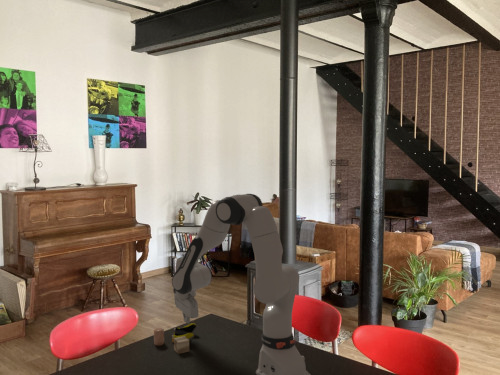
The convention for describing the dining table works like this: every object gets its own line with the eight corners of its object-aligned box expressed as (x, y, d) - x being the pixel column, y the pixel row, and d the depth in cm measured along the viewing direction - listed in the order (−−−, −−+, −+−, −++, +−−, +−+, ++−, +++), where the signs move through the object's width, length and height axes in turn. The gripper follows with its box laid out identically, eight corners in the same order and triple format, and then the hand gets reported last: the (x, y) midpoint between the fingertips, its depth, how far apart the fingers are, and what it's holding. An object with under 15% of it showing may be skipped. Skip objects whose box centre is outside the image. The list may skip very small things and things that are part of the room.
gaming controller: (196, 333, 215) (175, 333, 215) (196, 321, 215) (175, 322, 215) (193, 346, 200) (170, 347, 200) (193, 334, 200) (170, 334, 200)
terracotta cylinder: (165, 344, 203) (165, 330, 202) (155, 346, 201) (155, 332, 200) (162, 340, 207) (162, 327, 206) (152, 342, 204) (152, 329, 204)
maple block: (189, 351, 195) (189, 340, 195) (178, 354, 193) (177, 342, 192) (185, 347, 199) (184, 336, 199) (174, 349, 197) (173, 338, 197)
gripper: (201, 296, 199) (202, 327, 199) (184, 285, 216) (185, 314, 217) (187, 298, 196) (188, 330, 196) (171, 287, 213) (172, 317, 214)
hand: (186, 322), depth 207 cm, fingers closed
